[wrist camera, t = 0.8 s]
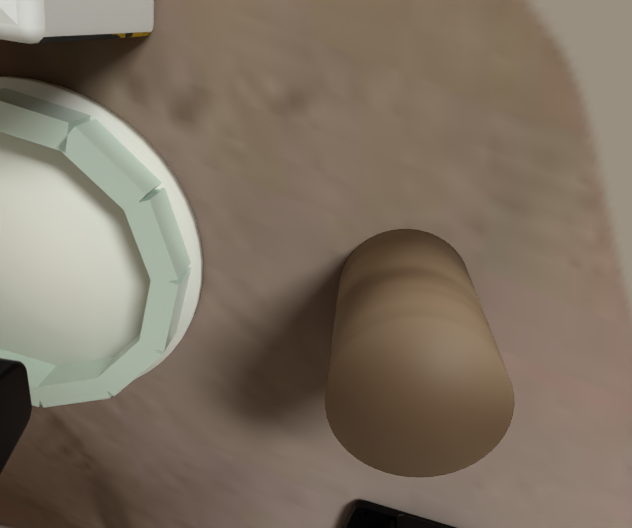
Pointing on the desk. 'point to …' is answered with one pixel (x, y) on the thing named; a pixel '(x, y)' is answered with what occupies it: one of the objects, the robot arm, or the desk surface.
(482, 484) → the desk surface
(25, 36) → the medicine bottle
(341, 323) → the brown domed cylinder
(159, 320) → the ring dish
